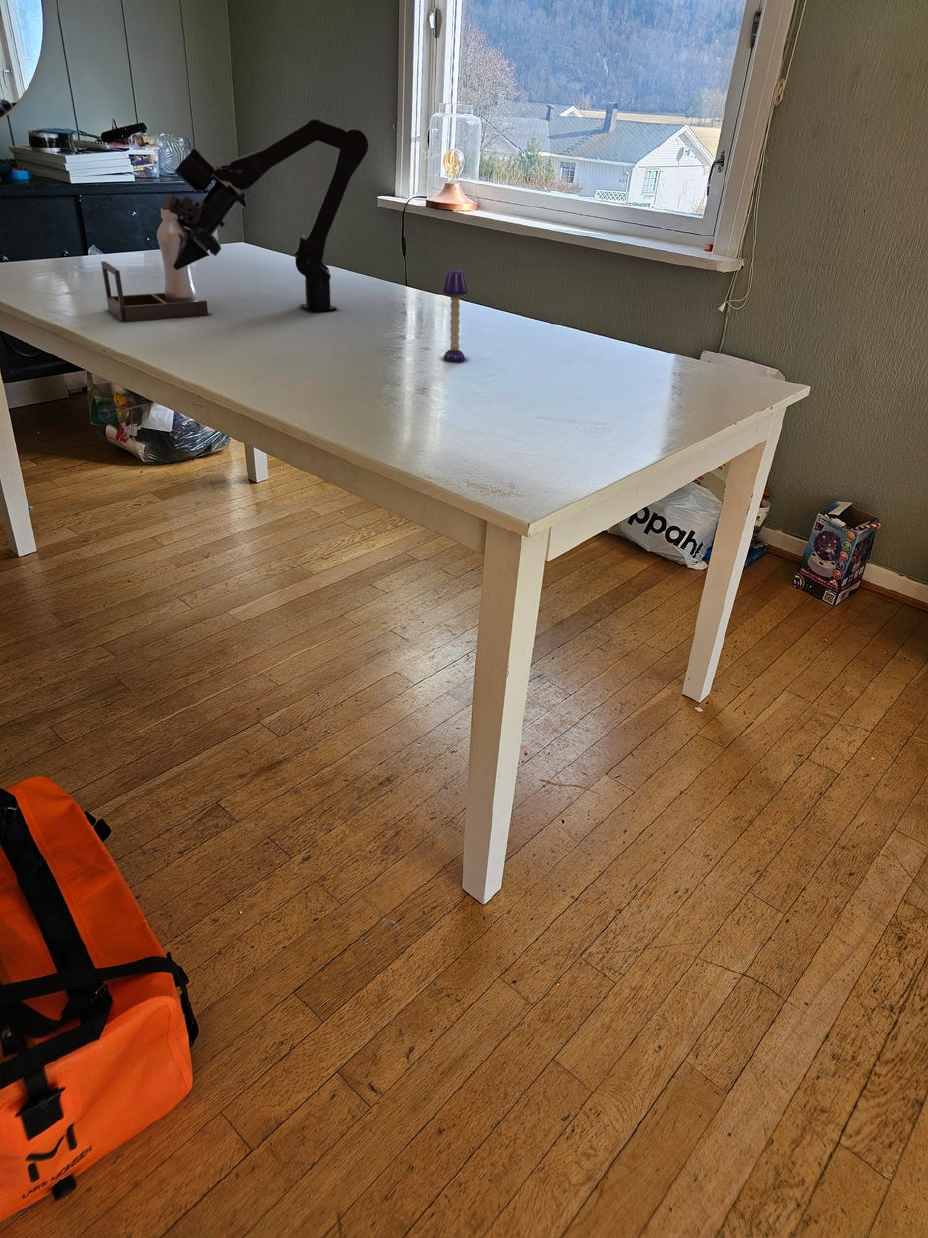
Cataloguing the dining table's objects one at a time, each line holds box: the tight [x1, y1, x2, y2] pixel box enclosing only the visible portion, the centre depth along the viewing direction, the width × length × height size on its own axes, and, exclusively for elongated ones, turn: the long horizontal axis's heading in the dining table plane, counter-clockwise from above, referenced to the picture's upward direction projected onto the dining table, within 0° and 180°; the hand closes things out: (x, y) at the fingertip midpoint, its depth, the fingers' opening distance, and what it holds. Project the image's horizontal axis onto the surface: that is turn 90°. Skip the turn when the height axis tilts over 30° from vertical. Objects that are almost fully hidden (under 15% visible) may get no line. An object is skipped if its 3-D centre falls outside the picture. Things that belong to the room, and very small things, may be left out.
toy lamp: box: [442, 269, 468, 363], centre depth 166 cm, size 5×5×17 cm
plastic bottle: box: [156, 207, 197, 303], centre depth 186 cm, size 6×7×20 cm
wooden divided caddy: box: [100, 260, 209, 323], centre depth 187 cm, size 11×19×10 cm, turn 124°
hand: (170, 265), depth 186 cm, fingers closed on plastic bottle, 6 cm apart
